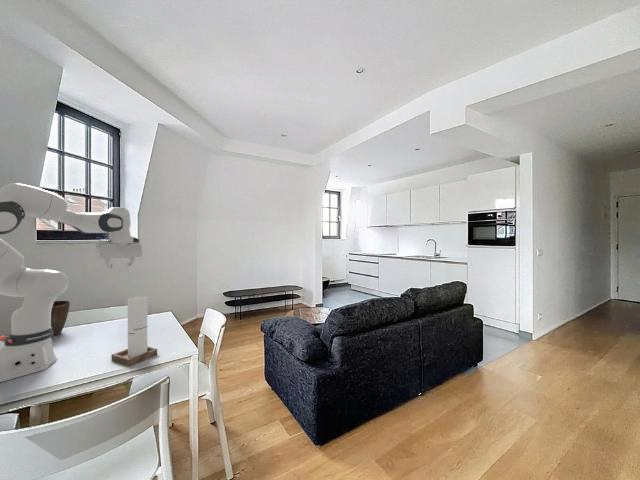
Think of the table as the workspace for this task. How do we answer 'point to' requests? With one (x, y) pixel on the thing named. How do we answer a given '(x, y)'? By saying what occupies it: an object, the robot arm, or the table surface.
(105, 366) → the table surface
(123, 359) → the wooden serving tray
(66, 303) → the plant pot
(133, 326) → the cylindrical container
